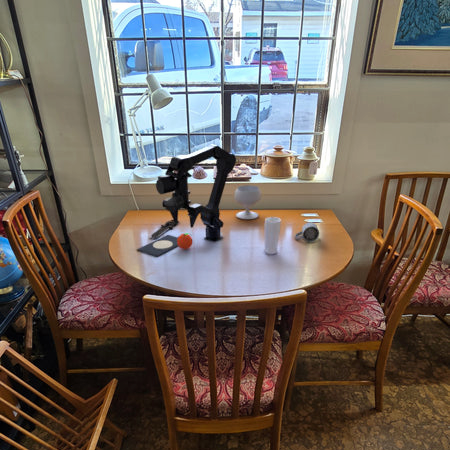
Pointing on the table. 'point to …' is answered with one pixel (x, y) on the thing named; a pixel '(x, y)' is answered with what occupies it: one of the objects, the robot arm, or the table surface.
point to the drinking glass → (272, 234)
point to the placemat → (160, 246)
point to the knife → (164, 228)
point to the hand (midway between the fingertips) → (183, 225)
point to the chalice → (247, 200)
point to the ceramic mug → (308, 232)
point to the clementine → (184, 241)
